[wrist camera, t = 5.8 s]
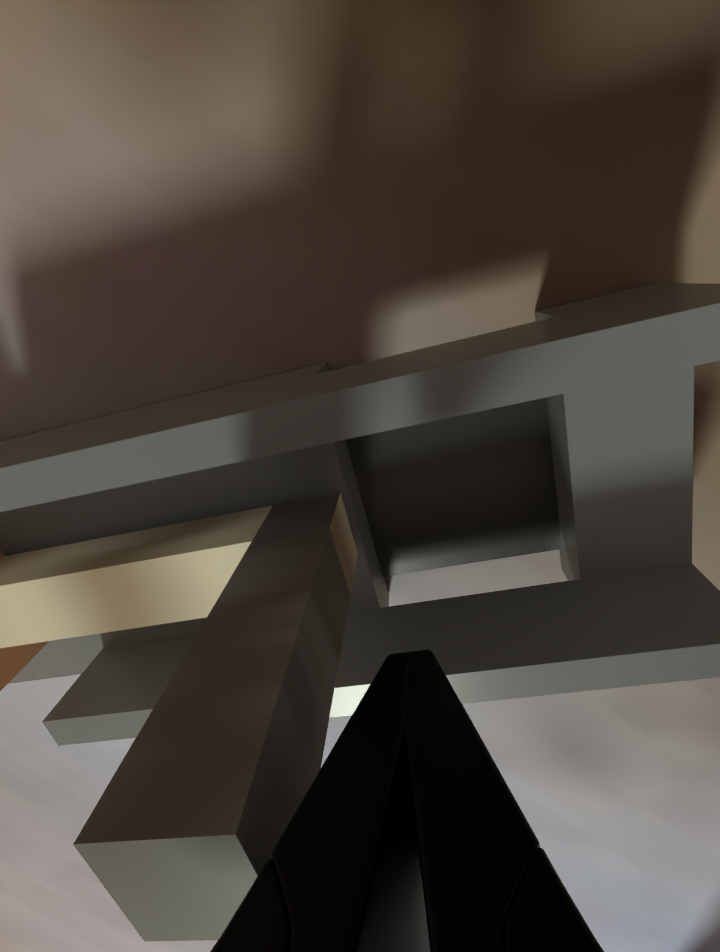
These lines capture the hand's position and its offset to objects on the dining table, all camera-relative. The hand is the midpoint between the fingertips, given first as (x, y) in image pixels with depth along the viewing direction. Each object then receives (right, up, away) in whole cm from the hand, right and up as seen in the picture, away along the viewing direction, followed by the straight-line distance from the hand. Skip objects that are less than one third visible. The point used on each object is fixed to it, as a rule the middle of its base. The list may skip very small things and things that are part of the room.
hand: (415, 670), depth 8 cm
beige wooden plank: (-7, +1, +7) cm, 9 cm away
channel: (-6, +2, +9) cm, 10 cm away
